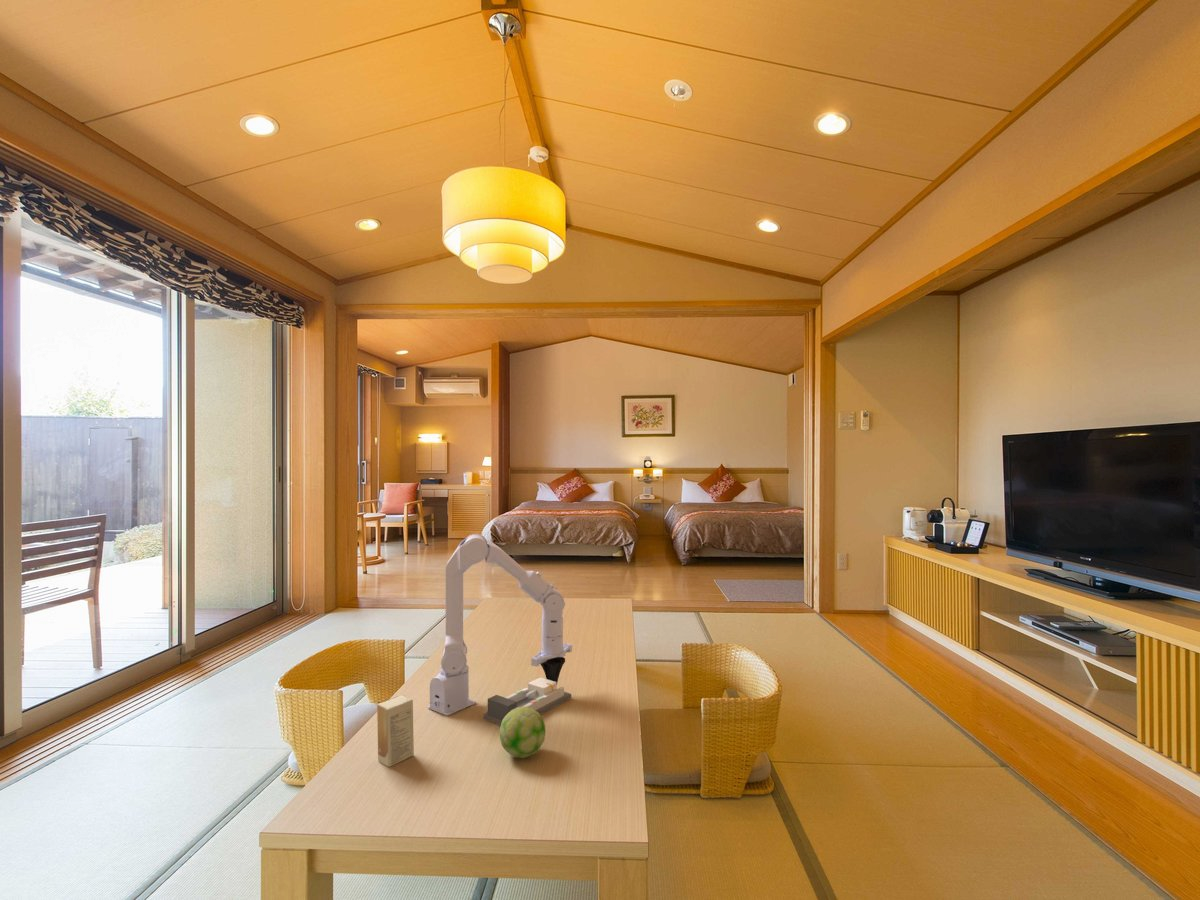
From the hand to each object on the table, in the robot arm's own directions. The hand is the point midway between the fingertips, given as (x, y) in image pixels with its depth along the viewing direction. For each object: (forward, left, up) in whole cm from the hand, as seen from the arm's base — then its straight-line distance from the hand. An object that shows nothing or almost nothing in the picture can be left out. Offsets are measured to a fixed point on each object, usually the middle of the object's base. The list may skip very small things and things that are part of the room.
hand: (552, 685), depth 156 cm
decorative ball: (-27, -15, -3) cm, 31 cm away
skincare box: (-44, +6, -3) cm, 45 cm away
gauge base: (-9, 0, -3) cm, 10 cm away
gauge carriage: (-5, -1, -2) cm, 6 cm away
